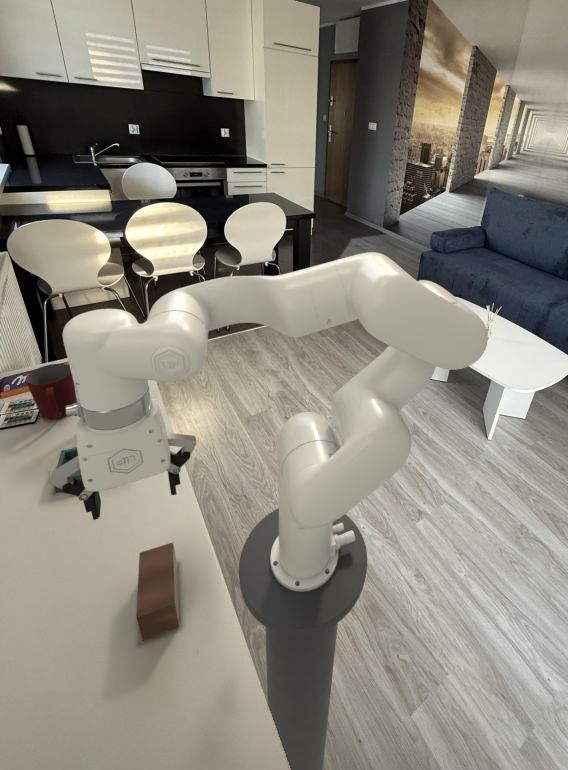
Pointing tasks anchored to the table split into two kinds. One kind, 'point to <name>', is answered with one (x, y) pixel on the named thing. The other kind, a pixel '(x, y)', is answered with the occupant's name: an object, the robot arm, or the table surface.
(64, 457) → the tray
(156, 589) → the walnut box
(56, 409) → the mug
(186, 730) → the table surface
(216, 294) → the robot arm
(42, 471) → the table surface
